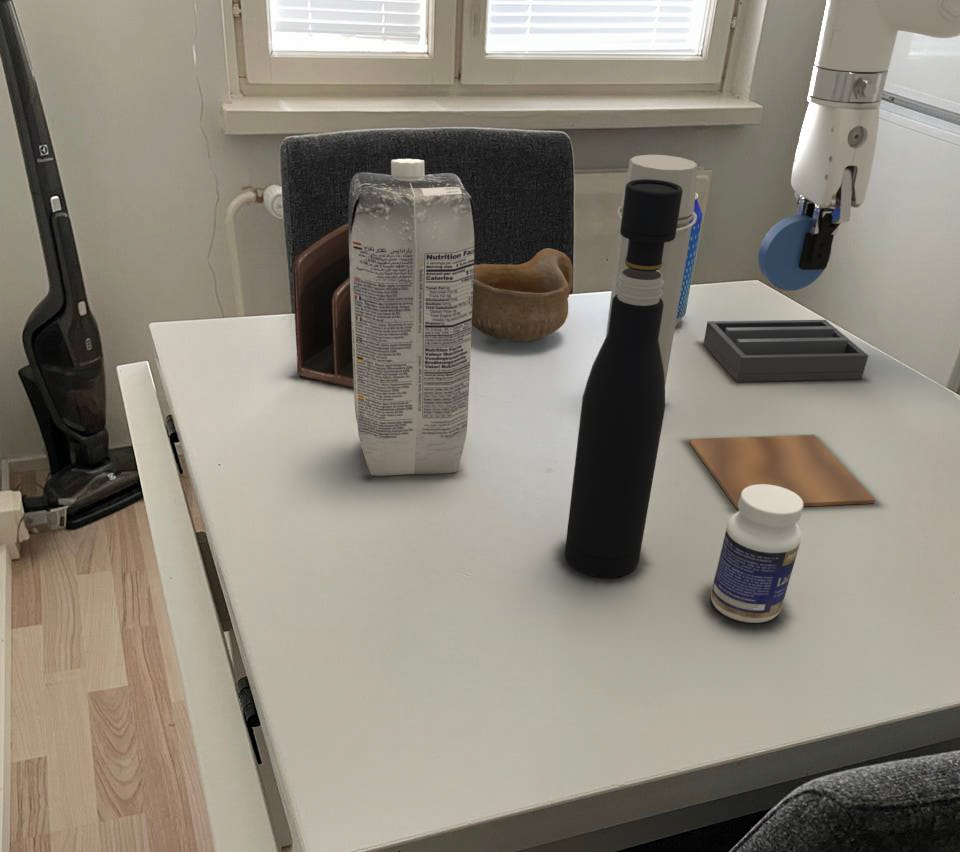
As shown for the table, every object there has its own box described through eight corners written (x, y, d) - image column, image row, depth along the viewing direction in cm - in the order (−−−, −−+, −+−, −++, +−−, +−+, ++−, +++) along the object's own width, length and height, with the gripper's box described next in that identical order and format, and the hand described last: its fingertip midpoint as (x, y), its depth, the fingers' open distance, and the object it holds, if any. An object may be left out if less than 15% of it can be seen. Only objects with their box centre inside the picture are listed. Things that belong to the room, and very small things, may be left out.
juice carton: (469, 478, 96) (482, 178, 79) (360, 483, 94) (350, 177, 77) (456, 437, 102) (465, 153, 86) (354, 440, 101) (343, 151, 84)
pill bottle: (782, 630, 78) (814, 521, 72) (709, 620, 79) (734, 511, 73) (778, 590, 83) (807, 484, 77) (709, 581, 83) (732, 475, 77)
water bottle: (598, 386, 114) (627, 150, 99) (666, 394, 113) (706, 157, 98) (589, 419, 107) (618, 170, 92) (661, 428, 106) (704, 178, 91)
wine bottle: (586, 584, 82) (637, 200, 64) (551, 545, 87) (590, 176, 68) (652, 570, 84) (720, 194, 66) (615, 532, 89) (669, 172, 70)
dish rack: (819, 342, 129) (826, 315, 127) (861, 379, 120) (869, 351, 118) (703, 344, 127) (708, 317, 125) (736, 382, 117) (742, 353, 115)
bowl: (489, 287, 136) (512, 217, 129) (578, 334, 134) (606, 265, 127) (430, 326, 123) (452, 250, 116) (527, 379, 121) (556, 304, 114)
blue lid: (830, 265, 118) (816, 201, 113) (837, 270, 116) (823, 206, 111) (767, 297, 119) (750, 235, 114) (773, 302, 117) (757, 240, 112)
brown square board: (813, 438, 106) (814, 434, 106) (874, 503, 95) (875, 499, 95) (688, 442, 104) (689, 438, 104) (736, 509, 93) (737, 505, 93)
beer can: (640, 304, 138) (657, 180, 128) (694, 318, 134) (717, 193, 124) (609, 320, 132) (626, 192, 122) (666, 335, 128) (687, 205, 119)
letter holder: (296, 377, 113) (287, 249, 104) (374, 322, 128) (372, 206, 119) (375, 394, 110) (372, 264, 101) (445, 336, 125) (448, 218, 116)
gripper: (916, 100, 99) (868, 286, 110) (846, 75, 112) (808, 244, 123) (846, 100, 98) (805, 288, 109) (783, 75, 110) (751, 246, 122)
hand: (807, 263), depth 116 cm, fingers closed on blue lid, 2 cm apart
